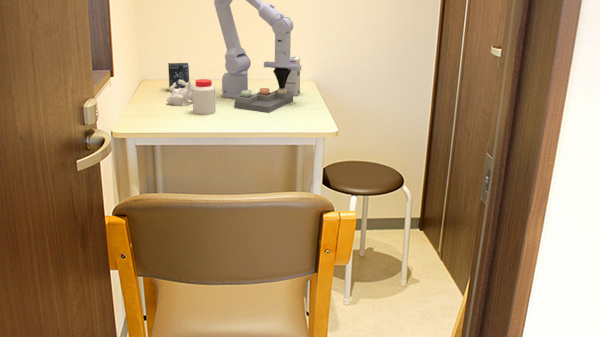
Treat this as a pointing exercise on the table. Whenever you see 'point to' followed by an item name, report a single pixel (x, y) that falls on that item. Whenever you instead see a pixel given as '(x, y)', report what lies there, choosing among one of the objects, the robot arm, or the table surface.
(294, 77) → the syrup box
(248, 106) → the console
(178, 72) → the box
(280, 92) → the button cream
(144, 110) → the table surface
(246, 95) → the button sage
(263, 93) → the button terracotta
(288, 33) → the robot arm
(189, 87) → the rabbit figurine
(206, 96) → the pill bottle
